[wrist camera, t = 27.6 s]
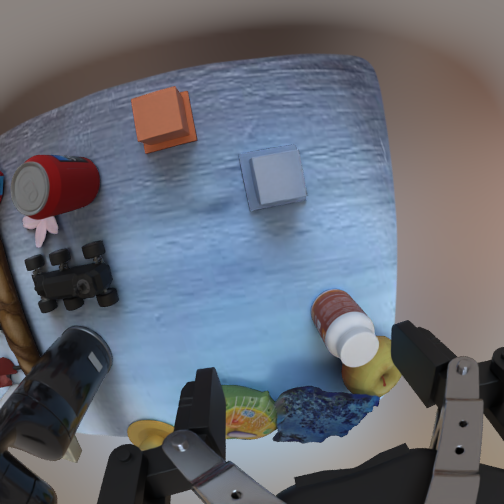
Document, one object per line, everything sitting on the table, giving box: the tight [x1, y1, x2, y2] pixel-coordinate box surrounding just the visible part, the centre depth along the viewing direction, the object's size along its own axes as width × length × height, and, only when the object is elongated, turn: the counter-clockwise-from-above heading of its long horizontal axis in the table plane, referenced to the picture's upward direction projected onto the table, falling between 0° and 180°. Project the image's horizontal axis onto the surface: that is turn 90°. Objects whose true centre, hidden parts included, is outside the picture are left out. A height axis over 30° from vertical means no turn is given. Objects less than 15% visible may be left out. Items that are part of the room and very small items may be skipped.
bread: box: [0, 237, 41, 376], centre depth 36 cm, size 38×5×5 cm, turn 6°
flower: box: [22, 216, 58, 248], centre depth 34 cm, size 10×10×2 cm
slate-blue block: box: [249, 150, 307, 205], centre depth 33 cm, size 5×5×5 cm
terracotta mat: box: [143, 91, 197, 154], centre depth 33 cm, size 6×6×1 cm
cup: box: [127, 420, 174, 451], centre depth 43 cm, size 12×12×5 cm
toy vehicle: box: [25, 241, 119, 313], centre depth 33 cm, size 8×15×9 cm, turn 99°
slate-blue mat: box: [239, 144, 306, 211], centre depth 35 cm, size 7×7×1 cm
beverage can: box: [11, 155, 100, 220], centre depth 28 cm, size 7×7×12 cm
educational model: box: [221, 385, 278, 440], centre depth 41 cm, size 13×16×5 cm
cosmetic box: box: [62, 435, 82, 463], centre depth 43 cm, size 6×4×12 cm
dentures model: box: [0, 357, 17, 388], centre depth 39 cm, size 6×4×8 cm
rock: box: [273, 386, 380, 443], centre depth 39 cm, size 15×17×2 cm
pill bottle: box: [311, 289, 379, 367], centre depth 35 cm, size 6×6×11 cm
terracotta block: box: [131, 86, 190, 145], centre depth 30 cm, size 5×5×5 cm
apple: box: [341, 336, 402, 397], centre depth 39 cm, size 10×10×8 cm
